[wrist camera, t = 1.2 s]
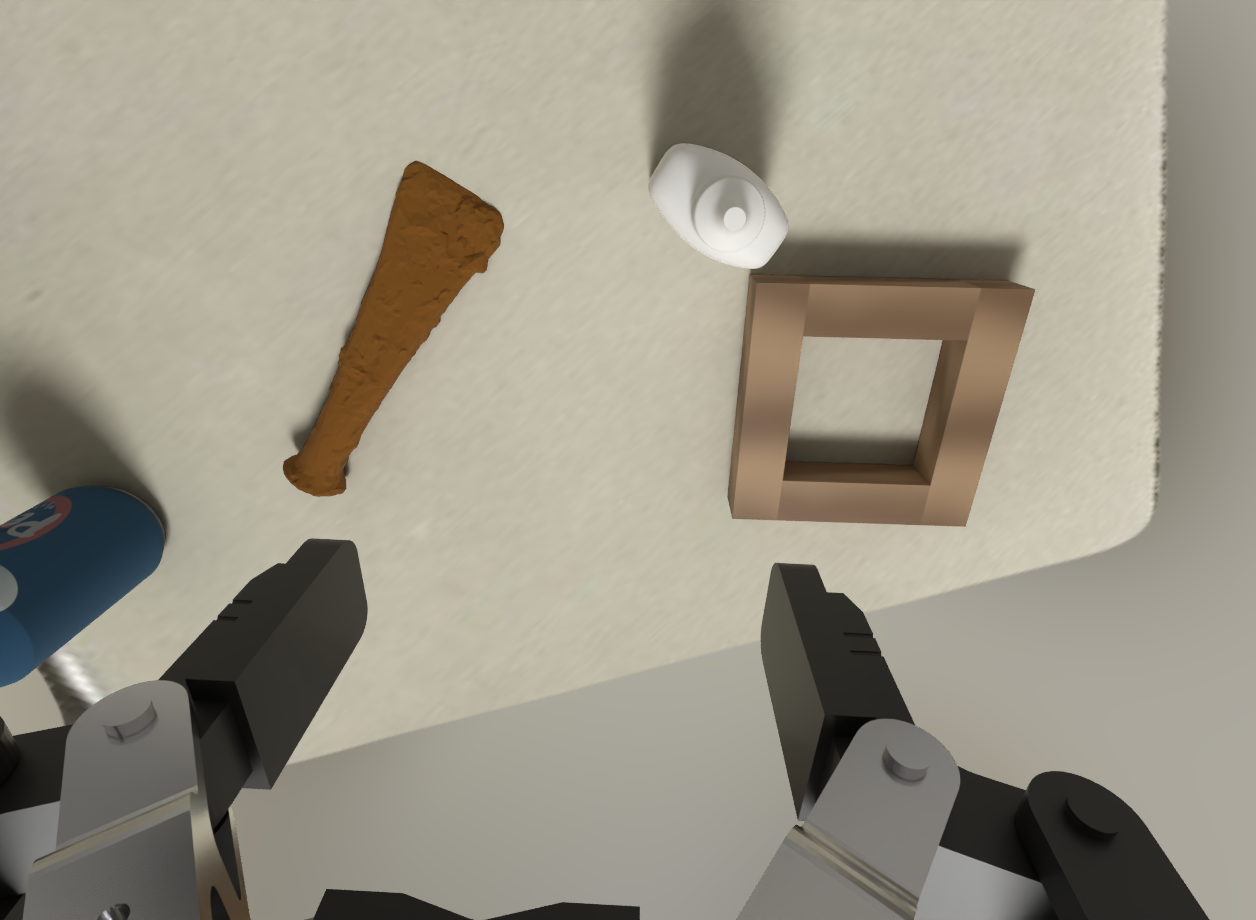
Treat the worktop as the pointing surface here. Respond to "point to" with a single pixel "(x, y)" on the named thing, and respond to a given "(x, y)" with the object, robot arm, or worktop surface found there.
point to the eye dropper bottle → (718, 206)
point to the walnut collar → (955, 417)
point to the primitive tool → (397, 313)
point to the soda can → (69, 569)
